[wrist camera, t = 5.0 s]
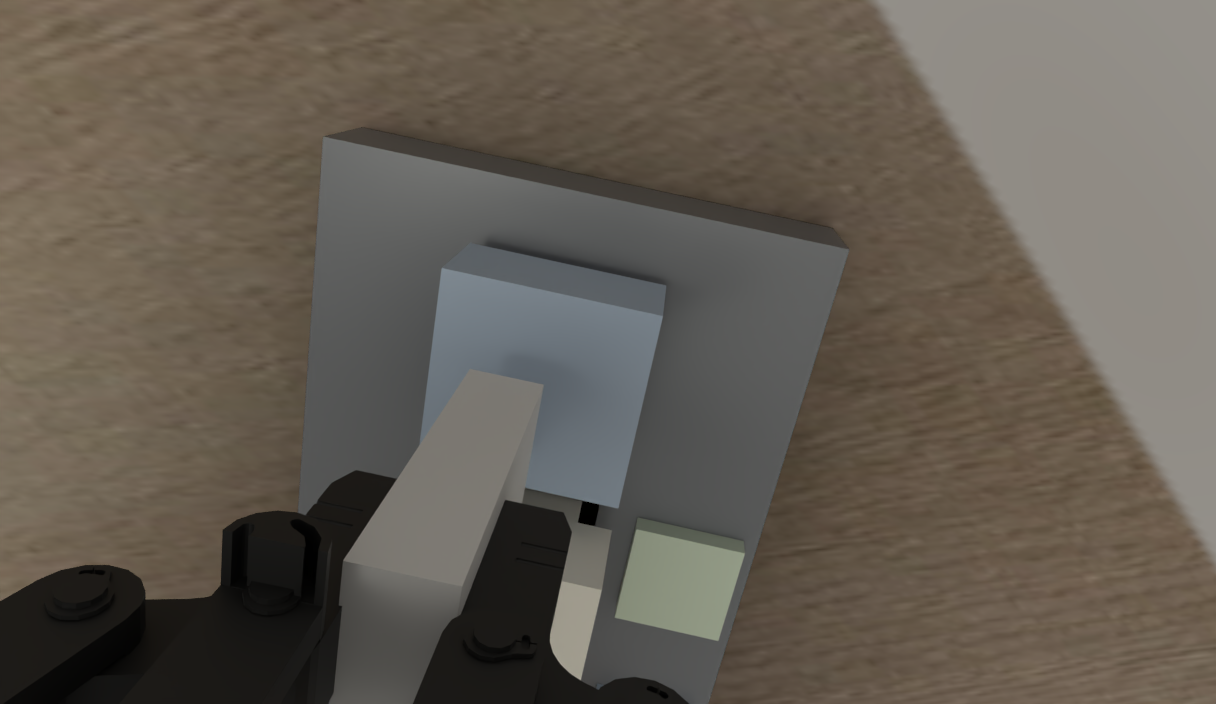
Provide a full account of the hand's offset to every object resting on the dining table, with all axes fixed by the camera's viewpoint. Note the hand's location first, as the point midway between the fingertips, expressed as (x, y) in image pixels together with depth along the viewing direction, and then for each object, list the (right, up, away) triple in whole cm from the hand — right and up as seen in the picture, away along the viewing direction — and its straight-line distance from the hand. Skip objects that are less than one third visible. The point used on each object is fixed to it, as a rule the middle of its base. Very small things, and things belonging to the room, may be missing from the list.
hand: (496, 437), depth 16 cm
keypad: (-1, -5, +10) cm, 12 cm away
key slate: (+1, +3, +6) cm, 7 cm away
